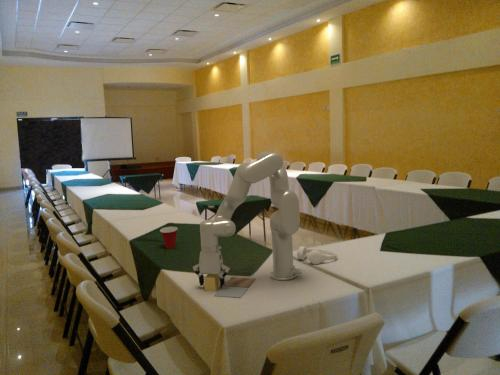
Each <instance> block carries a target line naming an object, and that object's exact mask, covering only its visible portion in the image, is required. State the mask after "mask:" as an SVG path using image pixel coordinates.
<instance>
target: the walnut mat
mask: <svg viewBox="0 0 500 375" xmlns="http://www.w3.org/2000/svg"><path fill="white" fill-rule="evenodd" d="M256 279H257V278H253V277H241V276H240V277H239V276H238V277H236V276H231V277H230V278H229V279H228V280H227V282H226V281H225V284H224V285H223V286H229V287H243V288H248V289H249V288H250V287H251V286H252V285H253V284H254V282H255V281H256Z"/></svg>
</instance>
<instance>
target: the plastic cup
mask: <svg viewBox="0 0 500 375" xmlns="http://www.w3.org/2000/svg"><path fill="white" fill-rule="evenodd" d="M178 228H179V227H176V226H166V227H163V228H161V229H160V230H159V232H160V233H161V236H162V239H163V243H164V247H165V249H167V250H169V249H170V250H171V249H174V248H176V243H177V234H178Z"/></svg>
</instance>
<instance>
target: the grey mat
mask: <svg viewBox="0 0 500 375" xmlns="http://www.w3.org/2000/svg"><path fill="white" fill-rule="evenodd" d="M248 290H249V288H246V287H232V286H224V285H223V287H220V289H218V290H217V292H216V293H215V294H214V295H213V297H217V298H218V297H220V298H231V297H233V299H241V298H242V297H243V296H244V294H245V293H246V292H247V291H248Z"/></svg>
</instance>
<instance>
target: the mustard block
mask: <svg viewBox="0 0 500 375" xmlns="http://www.w3.org/2000/svg"><path fill="white" fill-rule="evenodd" d="M219 288H220V278H219V275H218V274H206V275H205V276H204V291H208V292H216V291H218V290H219Z"/></svg>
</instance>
